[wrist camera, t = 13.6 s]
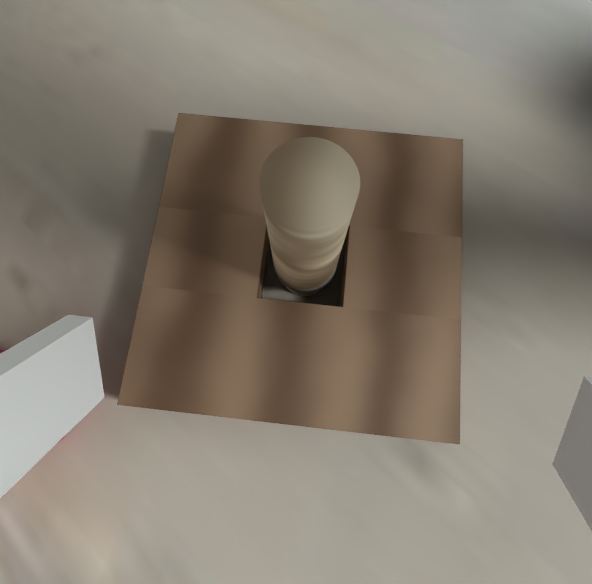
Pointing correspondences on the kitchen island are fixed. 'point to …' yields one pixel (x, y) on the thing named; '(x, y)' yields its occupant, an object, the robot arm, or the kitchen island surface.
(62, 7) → the kitchen island surface
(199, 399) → the walnut board
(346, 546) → the kitchen island surface
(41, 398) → the robot arm
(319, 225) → the beech peg
